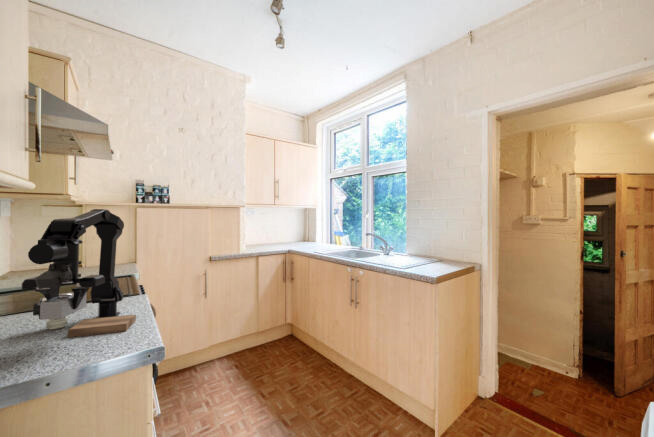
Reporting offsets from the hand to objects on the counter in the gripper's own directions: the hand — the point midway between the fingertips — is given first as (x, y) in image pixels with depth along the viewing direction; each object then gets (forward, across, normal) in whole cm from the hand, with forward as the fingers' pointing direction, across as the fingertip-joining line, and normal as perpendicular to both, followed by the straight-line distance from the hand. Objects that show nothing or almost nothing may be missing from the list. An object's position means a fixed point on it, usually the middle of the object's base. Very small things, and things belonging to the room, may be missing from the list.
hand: (64, 309), depth 83 cm
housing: (+1, 0, 0) cm, 1 cm away
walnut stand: (+11, +5, +12) cm, 17 cm away
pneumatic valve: (+11, -12, +16) cm, 22 cm away
